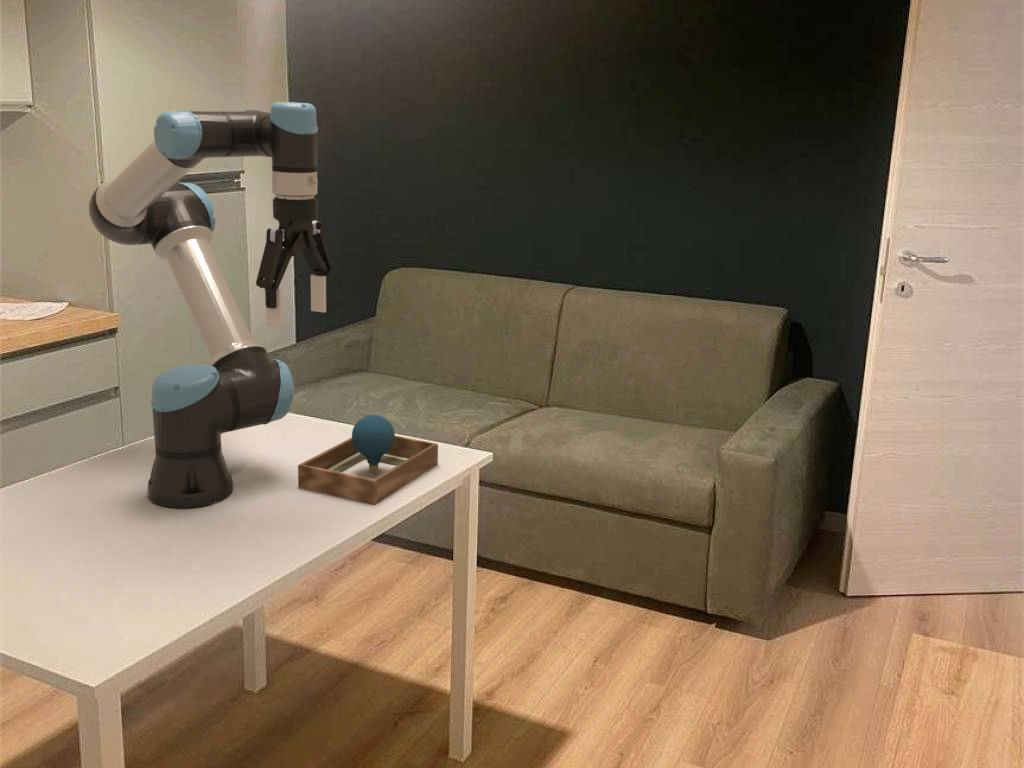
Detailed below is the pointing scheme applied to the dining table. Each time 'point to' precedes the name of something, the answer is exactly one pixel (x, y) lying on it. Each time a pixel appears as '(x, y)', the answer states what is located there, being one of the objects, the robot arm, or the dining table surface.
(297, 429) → the dining table surface
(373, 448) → the teal bulb shape
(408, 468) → the wooden frame
